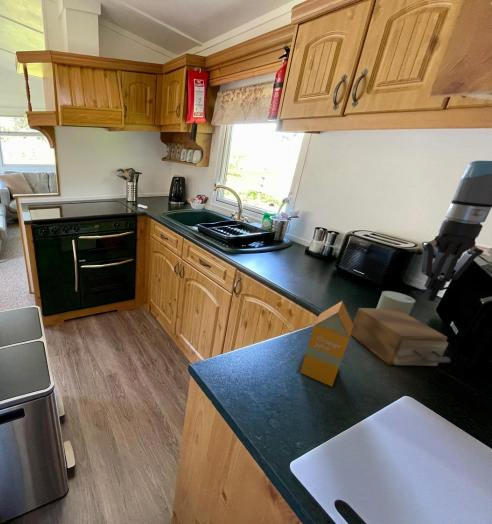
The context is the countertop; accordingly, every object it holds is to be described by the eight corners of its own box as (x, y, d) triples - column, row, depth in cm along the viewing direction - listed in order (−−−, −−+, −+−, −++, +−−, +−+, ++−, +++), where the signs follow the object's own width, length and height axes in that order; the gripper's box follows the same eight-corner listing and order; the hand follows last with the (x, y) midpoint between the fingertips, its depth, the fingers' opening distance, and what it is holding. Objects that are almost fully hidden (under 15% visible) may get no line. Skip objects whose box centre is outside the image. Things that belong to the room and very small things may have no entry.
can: (408, 334, 99) (422, 303, 95) (376, 328, 102) (388, 298, 98) (396, 321, 107) (408, 292, 103) (367, 316, 110) (378, 287, 106)
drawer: (452, 376, 78) (465, 352, 75) (409, 375, 77) (420, 351, 75) (393, 336, 96) (401, 315, 93) (357, 335, 95) (364, 314, 92)
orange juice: (337, 369, 79) (360, 305, 72) (332, 387, 73) (357, 318, 66) (306, 356, 84) (325, 295, 77) (299, 372, 77) (319, 306, 71)
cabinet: (433, 365, 84) (447, 337, 80) (388, 364, 83) (401, 336, 79) (387, 334, 98) (398, 309, 95) (349, 333, 98) (358, 307, 94)
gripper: (442, 220, 76) (408, 299, 85) (506, 226, 73) (464, 309, 81) (426, 216, 83) (396, 289, 91) (483, 221, 80) (447, 297, 88)
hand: (428, 298), depth 86 cm, fingers closed
